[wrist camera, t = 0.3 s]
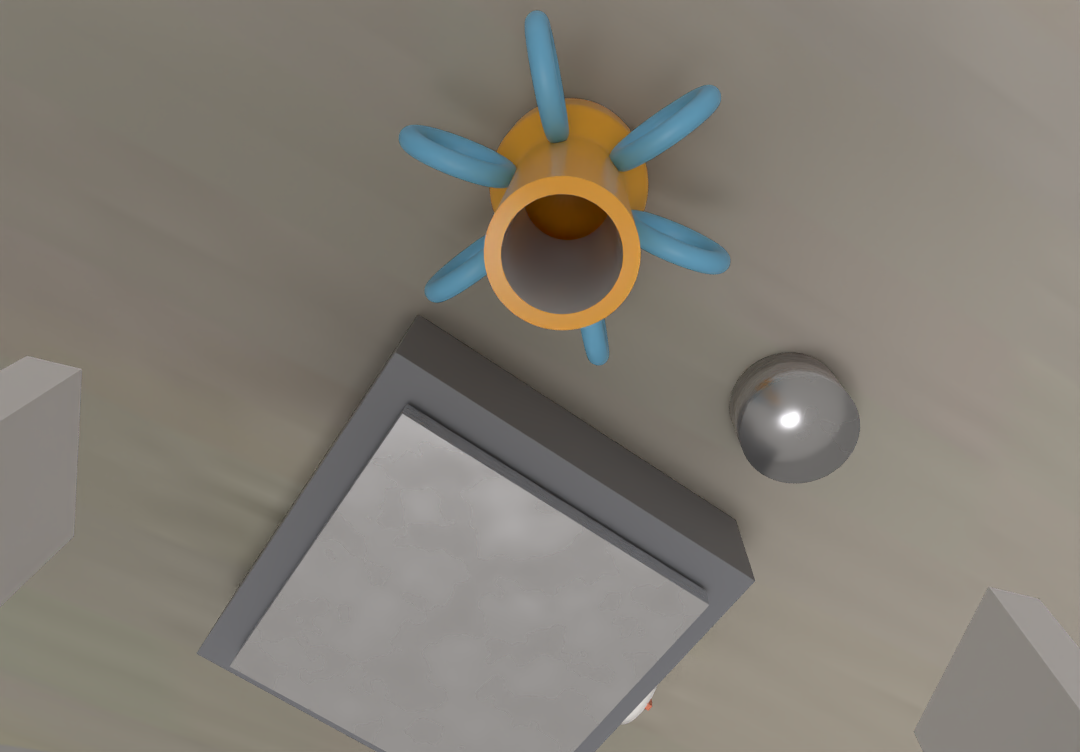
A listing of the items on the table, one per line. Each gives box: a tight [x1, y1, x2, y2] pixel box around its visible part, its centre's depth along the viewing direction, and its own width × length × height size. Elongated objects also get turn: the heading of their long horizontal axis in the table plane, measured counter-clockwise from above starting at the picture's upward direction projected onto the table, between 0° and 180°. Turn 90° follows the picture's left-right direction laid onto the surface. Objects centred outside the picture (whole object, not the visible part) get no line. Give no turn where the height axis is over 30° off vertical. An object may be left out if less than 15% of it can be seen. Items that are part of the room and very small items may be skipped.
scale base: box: [197, 315, 755, 752], centre depth 41 cm, size 19×18×5 cm
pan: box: [230, 404, 709, 752], centre depth 39 cm, size 15×15×5 cm
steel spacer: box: [729, 353, 860, 483], centre depth 38 cm, size 5×5×3 cm
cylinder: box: [399, 10, 730, 365], centre depth 29 cm, size 12×10×15 cm
